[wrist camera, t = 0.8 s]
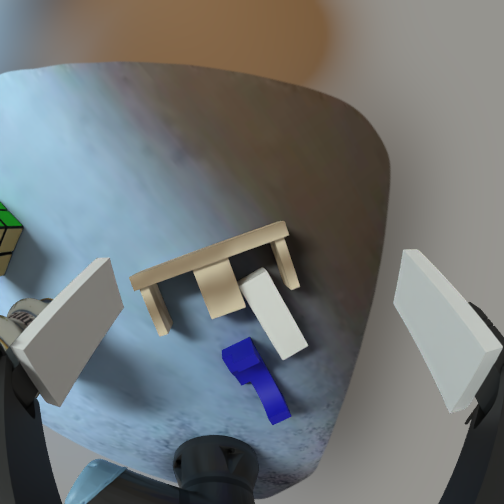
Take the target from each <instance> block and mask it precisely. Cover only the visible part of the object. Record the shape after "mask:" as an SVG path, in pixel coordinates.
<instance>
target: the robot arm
mask: <svg viewBox="0 0 504 504" xmlns="http://www.w3.org/2000/svg"><path fill="white" fill-rule="evenodd" d="M393 304H394V305H395V307H396V309H397V311H398V312H399V314H400V316H401V318H402V319H403V321H404V323H405V325H406V326H407V328H408V330H409V332H410V334H411V336H412V337H413V339H414V341H415V343H416V345H417V347H418V349H419V351H420V352H421V354H422V356H423V358H424V360H425V362H426V364H427V366H428V368H429V370H430V372H431V374H432V376H433V378H434V380H435V382H436V385H437V387H438V389H439V391H440V393H441V395H442V398H443V400H444V402H445V404H446V406H447V409H448V411H449V413H450V414H451V413H454V412H457V411H460V410H463V409H466V408H467V407H468V406H469V404H470V403H471V401H472V400H473V398H474V397H476V399H477V401H478V405H477V406H476V408H475V409H474V410H473V412H472V413H471V415H470V416H469V417H468V419H467V420H466V422H465V424H468V423H469V421H470V420H471V419H472V420H471V423H470V427H469V430H468V433H467V436H466V439H465V442H464V446H463V448H462V451H461V453H460V456H459V459H458V461H457V464H456V466H455V469H454V471H453V474H452V476H451V478H450V480H449V483H448V485H447V487H446V489H445V491H444V494H443V496H442V498H441V500H440V502H439V504H504V337H503V336H502V335H501V333H500V332H499V331H498V329H497V328H496V327H495V326H493V323H492V322H491V321H490V320H489V319H488V318H487V316H486V315H485V314H484V313H483V311H482V310H481V309H480V308H478V307H477V306H475V305H474V304H472V303H471V302H467V301H466V300H465V299H464V298H463V297H462V296H461V294H460V293H459V292H458V291H457V290H456V289H455V288H454V287H453V285H452V284H451V283H450V282H449V281H448V280H447V279H446V278H445V277H444V276H443V275H442V274H441V272H439V270H438V269H437V268H436V267H435V266H434V265H433V264H432V263H431V262H430V261H429V260H428V259H427V258H426V257H425V256H424V255H423V254H422V253H421V252H420V251H419V250H418V249H414V250H412V249H411V250H403V254H402V261H401V266H400V272H399V278H398V283H397V288H396V293H395V297H394V302H393ZM123 308H124V306H123V303H122V300H121V296H120V293H119V290H118V286H117V283H116V280H115V276H114V272H113V269H112V265H111V261H110V258H96V259H95V260H94V261H93V262H92V263H91V264H90V265H89V266H88V267H87V268H85V269H84V270H83V271H82V272H81V273H80V274H79V275H78V276H77V277H76V278H75V279H74V280H73V281H72V282H71V283H70V284H69V285H68V286H67V287H66V288H64V289H63V290H62V291H61V292H60V293H59V294H58V295H57V296H56V297H55V298H54V299H53V300H52V301H51V302H50V304H49V305H48V306H47V307H46V308H45V309H44V310H43V311H42V312H41V313H40V314H39V315H37V316H36V317H35V318H34V320H33V321H32V322H31V324H29V325H28V326H27V327H26V328H25V330H23V332H22V333H21V334H20V335H19V336H18V337H17V338H16V339H15V341H14V342H13V343H12V344H11V345H10V346H9V347H8V349H7V350H6V351H5V350H4V348H3V346H2V344H1V342H0V504H62V502H61V499H60V495H59V493H58V489H57V486H56V483H55V479H54V476H53V472H52V468H51V464H50V460H49V456H48V451H47V447H46V442H45V437H44V432H43V426H42V420H41V413H40V406H39V402H38V400H37V399H36V397H35V396H36V395H37V393H38V392H39V393H40V394H41V396H42V397H43V399H44V400H45V401H46V402H47V403H50V404H52V405H55V406H58V407H61V405H62V403H63V401H64V400H65V398H66V396H67V395H68V393H69V391H70V390H71V388H72V386H73V385H74V383H75V381H76V380H77V378H78V376H79V375H80V373H81V372H82V370H83V368H84V367H85V365H86V364H87V362H88V360H89V359H90V357H91V356H92V354H93V353H94V351H95V350H96V348H97V347H98V345H99V343H100V342H101V340H102V339H103V337H104V336H105V334H106V333H107V331H108V330H109V328H110V327H111V326H112V324H113V323H114V321H115V320H116V318H117V317H118V315H119V314H120V312H121V311H122V310H123ZM173 470H174V473H175V476H176V479H177V482H178V485H179V487H180V488H178V487H175V486H172V485H169V484H166V483H163V482H160V481H157V480H154V479H151V478H149V477H146V476H143V475H141V474H138V473H135V472H133V471H131V470H128V469H127V468H126V467H121V466H118V465H116V464H113V463H111V462H108V461H106V460H103V459H95V460H93V461H91V462H90V463H89V464H88V465H87V466H86V467H85V468H84V469H83V471H82V472H81V474H80V475H79V477H78V478H77V480H76V481H75V483H74V485H73V486H72V488H71V490H70V492H69V494H68V496H67V498H66V500H65V503H64V504H255V502H254V497H253V489H254V486H255V482H256V479H257V475H258V471H259V465H258V460H257V456H256V454H255V452H254V451H253V449H252V448H251V447H249V446H248V445H247V444H245V443H244V442H242V441H240V440H237V439H234V438H231V437H226V436H218V435H209V436H201V437H196V438H193V439H190V440H188V441H186V442H184V443H183V444H182V445H181V446H179V448H178V449H177V450H176V452H175V455H174V461H173Z"/></svg>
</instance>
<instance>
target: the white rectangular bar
mask: <svg viewBox="0 0 504 504" xmlns="http://www.w3.org/2000/svg"><path fill="white" fill-rule="evenodd" d="M237 283H238V286H239V288H240V290H241V292H242V293H243V295H244V297H245V298H246V300H247V302H248V303H249V305H250V307H251V308H252V310H253V312H254V314H255V315H256V317H257V319H258V320H259V322H260V324H261V325H262V327H263V329H264V330H265V332H266V334H267V335H268V337H269V339H270V340H271V342H272V344H273V345H274V347H275V348H276V350H277V352H278V353H279V355H280V357H281V358H282V360H285V359H286V358H288V357H290V356H292V355H293V354H295V353H297V352H298V351H300V350H302V349H304V348H305V347H307V346H308V344H307V342H306V341H305V339H304V337H303V335H302V333H301V332H300V330H299V328H298V326H297V324H296V322H295V321H294V319H293V317H292V315H291V313H290V312H289V310H288V308H287V306H286V305H285V303H284V301H283V299H282V297H281V296H280V294H279V292H278V290H277V288H276V287H275V285H274V283H273V281H272V279H271V278H270V276H269V274H268V272H267V271H266V270H265V269H264V268H263V267H261V268H260V269H258V270H256V271H254V272H253V273H251V274H249V275H247V276H246V277H244V278H242V279H240V280H239V281H237Z"/></svg>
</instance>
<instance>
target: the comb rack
mask: <svg viewBox="0 0 504 504" xmlns="http://www.w3.org/2000/svg"><path fill="white" fill-rule="evenodd" d="M288 235H289V233H288V230H287V227H286V224H285V221H281V222H275V223H272V224H269V225H266V226H264V227H261V228H258V229H255V230H252V231H249V232H247V233H244V234H241V235H238V236H235V237H233V238H230V239H227V240H224V241H221V242H219V243H216V244H213V245H210V246H208V247H205V248H202V249H199V250H197V251H194V252H191V253H188V254H186V255H183V256H180V257H177V258H175V259H172V260H169V261H167V262H164V263H161V264H159V265H156V266H153V267H151V268H148V269H145V270H143V271H140V272H138V273H136V274H134V275H132V276H131V277H129V279H130V281H131V284H132V287H133V289H134V291H136V290H139V289H140V291H141V294H142V296H143V299H144V301H145V304H146V306H147V308H148V311H149V313H150V316H151V318H152V320H153V322H154V325H155V327H156V329H157V332H158V334H159V336H163V335H166V334H168V333H169V331H170V329H171V327H172V325H173V321H172V319H171V317H170V314H169V312H168V310H167V307H166V305H165V302H164V300H163V297H162V295H161V293H160V290H159V287H158V285H157V283H158V282H161V281H164V280H166V279H169V278H172V277H175V276H177V275H180V274H183V273H186V272H188V271H191V270H193V272H194V275H195V278H196V280H197V283H198V285H199V288H200V291H201V293H202V296H203V298H204V301H205V303H206V306H207V308H208V311H209V313H210V316H211V318H212V319H214V318H217V317H220V316H223V315H225V314H228V313H231V312H234V311H237V310H239V309H242V308H245V307H246V306H245V303H244V300H243V297H242V294H241V292H240V289H239V286H238V284H237V281H236V278H235V275H234V273H233V270H232V267H231V264H230V262H229V259H228V257H230V256H233V255H235V254H238V253H241V252H244V251H247V250H249V249H252V248H255V247H258V246H260V245H263V244H266V243H269V242H270V245H271V248H272V251H273V254H274V257H275V260H276V262H277V265H278V268H279V271H280V274H281V277H282V280H283V283H284V284H285V285H286V286H287V287H288V288H289V289H291V290H293V289H295V288H298V287H300V285H299V282H298V279H297V275H296V272H295V269H294V266H293V263H292V260H291V257H290V254H289V251H288V248H287V245H286V242H285V239H284V237H286V236H288Z"/></svg>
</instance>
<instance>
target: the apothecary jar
mask: <svg viewBox="0 0 504 504" xmlns="http://www.w3.org/2000/svg"><path fill="white" fill-rule="evenodd" d="M52 300H53V299H51V298H45V299H42V300H37V299H32V298H26V299H22V300H20V301H18V302H16V303H15V304H14V305H13V306H12V307H11V309H10V310H9V312H8V315H7V317H5V316H2V315H0V342H1V344H2V346H3V348H4V350H5V351H6V350H7V349H8V347H9V346H10V345H11V344H12V343H13V342H14V341H15V339H16V338H17V337H18V336H19V335H20V334H21V333H22V332H23V330H25V328H26V327H27V326H28V325H29V324H31V322H32V321H33V320H34V318H35V317H36V316H37V315H39V314H40V313H41V312H42V311H43V310H44V309H45V308H46V307H47V306H48V305H49V304H50V302H51V301H52ZM39 394H40V393H39V392H38V393H37V395H36V396H35V397H36V398H37V397H38V395H39Z"/></svg>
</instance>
